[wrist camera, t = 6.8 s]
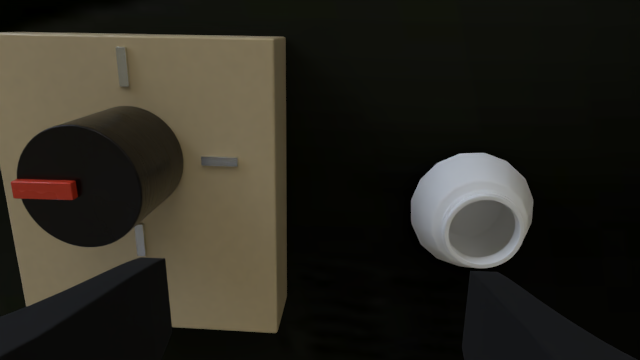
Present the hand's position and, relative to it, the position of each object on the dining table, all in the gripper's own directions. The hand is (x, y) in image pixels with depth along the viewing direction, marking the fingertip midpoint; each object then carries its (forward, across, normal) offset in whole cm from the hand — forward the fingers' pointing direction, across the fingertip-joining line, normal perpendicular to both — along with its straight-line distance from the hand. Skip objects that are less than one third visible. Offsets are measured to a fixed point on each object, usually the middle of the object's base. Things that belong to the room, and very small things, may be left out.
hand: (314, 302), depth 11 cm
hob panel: (+10, +8, 0) cm, 13 cm away
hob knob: (+7, +8, -1) cm, 11 cm away
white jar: (+11, -6, +1) cm, 12 cm away
